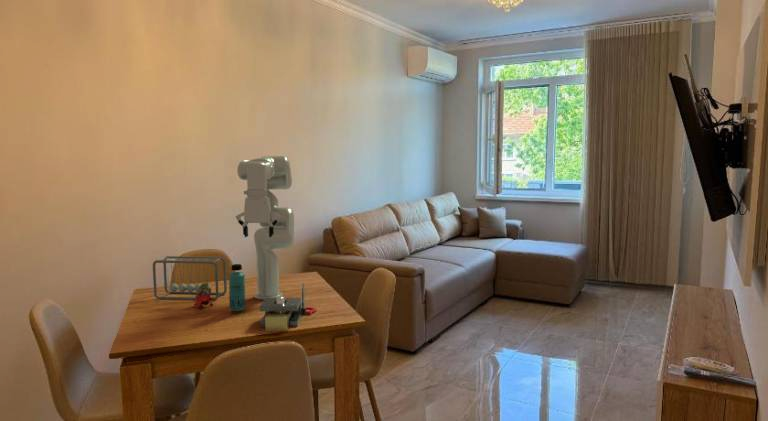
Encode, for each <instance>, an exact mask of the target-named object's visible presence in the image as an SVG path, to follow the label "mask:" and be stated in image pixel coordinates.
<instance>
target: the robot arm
mask: <svg viewBox="0 0 768 421" xmlns="http://www.w3.org/2000/svg"><path fill="white" fill-rule="evenodd" d="M236 170H237V176H238V178H239V179H240V180H241V181H246V184H247V186H246V187H247V188H246V190H244V191H243V195H245V196H246V197H245V199H244V206H243V207H244V208H243V209H244V210H243V212H241V213H239V214H237V215H235V219H236V221H237V223H238V224H239V225H240V226H241V227H242V235H244V238H247V237H249V226H248V224H258V223H259V225H260V228H258V229H257V230H255V232H254V235H253V241H254V244H255V245H254V247H255V251H256V252H255V254H256V276H257V278H256V281H257V292H255V293H254V294H253V295H254V296H253V297H254V298H255V299H257V300H260V301H261V300H263V301H264V299H265V298H276V297H278V296H283V292H282V291H280V278H279V276H280V275H279V274H280V273H279V257H278V255H277V253H276V252H275V251H274V250H275V249H289V248H292V247H293V244H294V239H295V238H294V237H295V214H294V211H293V210H292V209H291V208H289V207H279V199H278V197H277V196H276V195H275V194H274V193H273V192H272V191H271V190H288V189H290V188H291V187H292V184H293V183H292V182H293V178H292V170H291V163H290V161H289V159H288V158H287V156H285V155H284V156H283V155H281V156H279V155H268V156H267V155H266V156H265V155H264V156H262V157H258V158H253V159H245V160H241V161H240V162H239V163H238V165H237V169H236ZM242 217H243V219H242Z"/></svg>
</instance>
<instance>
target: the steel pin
mask: <svg viewBox="0 0 768 421" xmlns="http://www.w3.org/2000/svg"><path fill="white" fill-rule="evenodd" d="M284 298H285V296H283V295H282V296H278V297H276V304H284Z"/></svg>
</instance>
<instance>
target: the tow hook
mask: <svg viewBox="0 0 768 421" xmlns="http://www.w3.org/2000/svg"><path fill="white" fill-rule="evenodd" d="M301 284H302V285H301V286H302V287H301V316H303V315H307V316H311V315H312V314H313V313H316V312H317V308H316V307H313V306H306V299H305V298H306V296H305V294H306V290H305V289H306V288H305V282H302V283H301Z"/></svg>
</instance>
